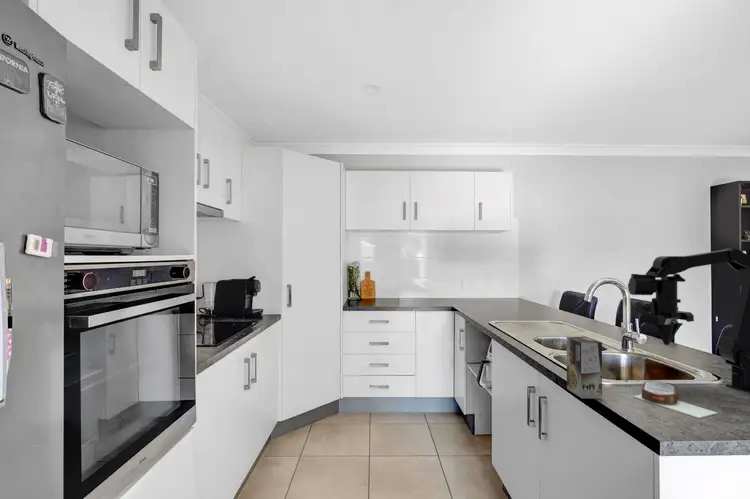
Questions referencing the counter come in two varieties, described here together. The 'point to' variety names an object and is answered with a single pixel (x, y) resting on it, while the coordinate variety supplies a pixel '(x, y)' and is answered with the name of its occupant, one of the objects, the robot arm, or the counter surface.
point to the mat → (685, 408)
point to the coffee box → (584, 367)
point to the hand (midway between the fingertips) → (666, 344)
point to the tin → (659, 392)
